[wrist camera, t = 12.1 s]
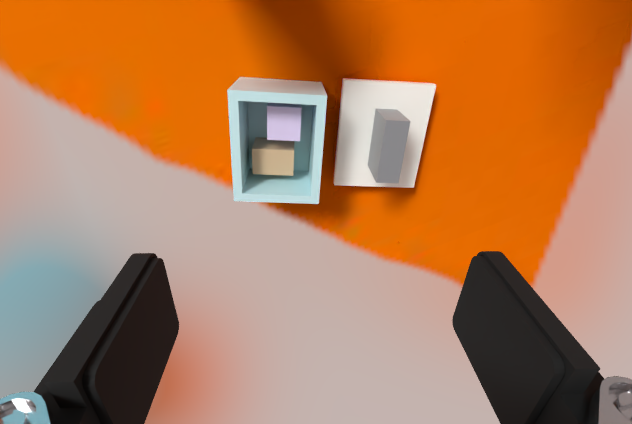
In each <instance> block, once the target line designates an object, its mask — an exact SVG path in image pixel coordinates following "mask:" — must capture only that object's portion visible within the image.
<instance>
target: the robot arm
mask: <svg viewBox="0 0 632 424" xmlns="http://www.w3.org/2000/svg"><path fill="white" fill-rule="evenodd" d="M453 327H454V330H455V332H456V334H457V336H458V338H459V340H460V342H461V344H462V346H463V348H464V350H465V352H466V354H467V356H468V358H469V360H470V362H471V364H472V367H473V368H474V371H475V372H476V375H477V377H478V379H479V381H480V383H481V385H482V387H483V389H484V391H485V393H486V395H487V397H488V399H489V401H490V403H491V405H492V407H493V409H494V411H495V413H496V415H497V417H498V419H499V421H500V423H501V424H632V380H631V379H628V378H624V377H618V376H613V377H607V378H606V379H604V378H603V377H602V376H601V374H600V373H599V372H598V371H599V370H600V368H599V367H598V365H597V364H596V363H595V362H594V360H593V359H592V358H591V357H590V356H589V355H588V354H587V352H586V351H585V350H584V349H583V348H582V346H581V345H580V344H579V343H578V342H577V340H576V339H575V338H574V337H573V336H572V334H571V333H570V332H569V331H568V330H567V329H566V327H565V326H564V325H563V324H562V323H561V321H560V320H558V318H557V317H556V316H555V314H554V313H553V312H552V311H551V310H550V309H549V308H548V306H547V305H546V304H545V303H544V301H543V300H542V299H541V298H540V297H539V296H538V294H537V293H536V292H535V291H534V290H533V288H532V287H531V286H530V285H529V284H528V283H527V281H526V280H525V279H524V278H523V277H522V275H521V274H520V273H519V272H518V271H517V270H516V268H515V267H514V266H513V265H512V264H511V263H510V261H509V260H508V259H507V258H506V257H505V255H504V254H503V253H501V252H499V251H485V252H479V253H478V254H477V256H474V257H473V258H472V260H471V263H470V266H469V269H468V272H467V275H466V278H465V281H464V284H463V288H462V291H461V294H460V297H459V300H458V303H457V306H456V309H455V312H454V315H453ZM178 330H179V321H178V318H177V313H176V309H175V306H174V301H173V298H172V294H171V290H170V285H169V282H168V277H167V273H166V269H165V266H164V262H163V260H162V259H161V258H157V256H156V254H154V253H145V254H144V253H143V254H141V253H140V254H133V255H131V257H130V258H129V259H128V261H127V262H126V264H125V265H124V267H123V268H122V270H121V271H120V273H119V274H118V275H117V277H116V278H115V280H114V281H113V283H112V284H111V286H110V287H109V289H108V290H107V291H106V293H105V294H104V296H103V297H102V299H101V300H100V301H98V302H97V303H96V304H95V305H94V306H93V307H92V309H91V310H90V311H89V313H88V314H87V316H86V317H85V319H84V320H83V322H82V323H81V325H80V326H79V327H78V329H77V330H76V332H75V333H74V334H73V336H72V337H71V339H70V340H69V342H68V343H67V345H66V346H65V347H64V349H63V350H62V352H61V353H60V355H59V356H58V358H57V359H56V361H55V362H54V363H53V365H52V366H51V367H50V369H49V370H48V372H47V373H46V375H45V376H44V378H43V379H42V380H41V382H40V383H39V385H38V386H37V388H36V389H35V391H34V392H19V393H14V394H10V395H8V396H6V397H3V398H1V399H0V424H144V423H145V420H146V417H147V415H148V412H149V409H150V407H151V404H152V401H153V399H154V396H155V393H156V391H157V388H158V385H159V382H160V380H161V377H162V374H163V372H164V369H165V366H166V364H167V361H168V359H169V356H170V353H171V350H172V348H173V345H174V343H175V340H176V337H177V334H178Z"/></svg>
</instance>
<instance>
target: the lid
mask: <svg viewBox="0 0 632 424" xmlns="http://www.w3.org/2000/svg"><path fill="white" fill-rule="evenodd" d="M435 88H436V85H435V84H433V83H420V82H402V81H383V80H365V79H347V78H343V81H342V92H341V103H340V114H339V125H338V136H337V147H336V158H335V169H334V180H333V182H334V185H341V186H373V187H404V188H414V184H415V179H416V175H417V170H418V166H419V161H420V157H421V152H422V148H423V143H424V138H425V134H426V129H427V125H428V120H429V116H430V111H431V107H432V102H433V97H434V93H435Z"/></svg>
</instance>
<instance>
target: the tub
mask: <svg viewBox="0 0 632 424" xmlns="http://www.w3.org/2000/svg"><path fill="white" fill-rule="evenodd" d="M227 91H228V108H229V126H230V143H231V160H232V177H233V195H234V201H245V202H274V203H304V204H319V194H320V182H321V169H322V156H323V144H324V131H325V118H326V106H327V94H326V91H325V89H324V87H323V84H322V82H315V81H298V80H282V79H266V78H249V77H239V78H238V79H237V80H236V81H235V82H234V83H233V85H232V86H231V87H230V88H229V89H228V90H227Z"/></svg>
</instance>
